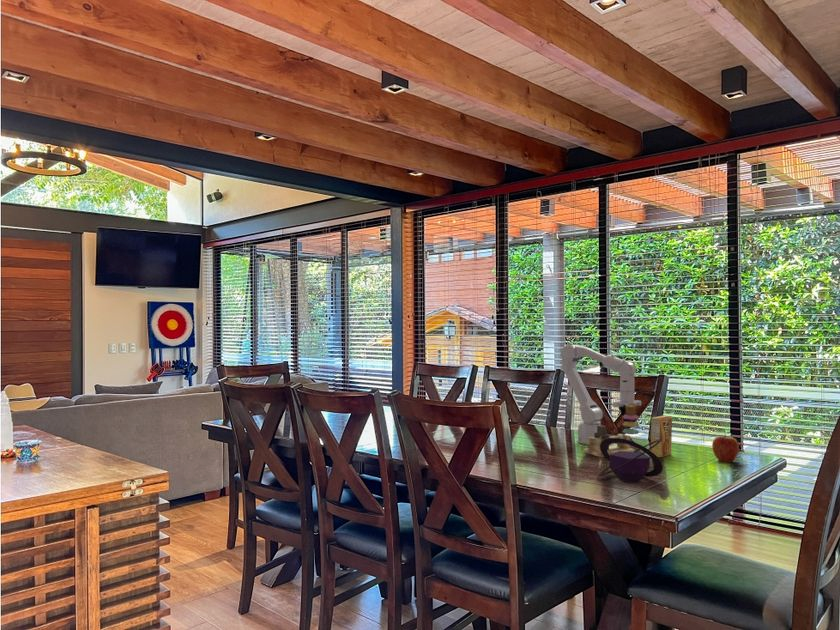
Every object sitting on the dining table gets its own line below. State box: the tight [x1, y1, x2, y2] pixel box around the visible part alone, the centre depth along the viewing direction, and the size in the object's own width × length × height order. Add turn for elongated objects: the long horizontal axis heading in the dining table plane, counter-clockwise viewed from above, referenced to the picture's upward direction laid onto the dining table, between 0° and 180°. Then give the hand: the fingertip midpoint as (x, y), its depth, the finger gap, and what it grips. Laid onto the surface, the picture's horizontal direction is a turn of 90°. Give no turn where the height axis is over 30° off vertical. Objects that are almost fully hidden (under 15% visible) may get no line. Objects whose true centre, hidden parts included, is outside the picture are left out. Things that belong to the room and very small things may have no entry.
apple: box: [711, 434, 740, 463], centre depth 238 cm, size 9×9×10 cm
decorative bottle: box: [598, 404, 664, 484], centre depth 207 cm, size 22×21×25 cm
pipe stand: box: [583, 433, 636, 458], centre depth 251 cm, size 10×18×7 cm, turn 118°
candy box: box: [650, 415, 673, 458], centre depth 247 cm, size 9×4×15 cm, turn 129°
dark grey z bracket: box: [594, 424, 610, 450], centre depth 249 cm, size 6×2×9 cm, turn 28°
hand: (627, 423), depth 260 cm, fingers closed
